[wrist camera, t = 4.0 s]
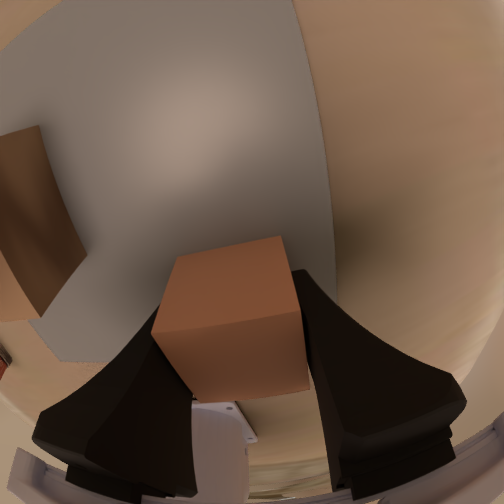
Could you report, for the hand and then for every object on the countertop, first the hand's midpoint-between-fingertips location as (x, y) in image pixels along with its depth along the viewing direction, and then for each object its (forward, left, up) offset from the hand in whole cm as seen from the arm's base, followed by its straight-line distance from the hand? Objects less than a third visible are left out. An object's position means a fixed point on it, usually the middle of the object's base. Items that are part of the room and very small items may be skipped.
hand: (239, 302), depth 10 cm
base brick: (+6, +9, -1) cm, 11 cm away
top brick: (0, 0, -1) cm, 1 cm away
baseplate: (+5, +5, -2) cm, 7 cm away
